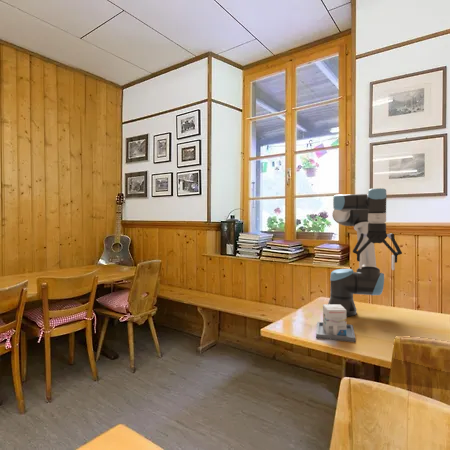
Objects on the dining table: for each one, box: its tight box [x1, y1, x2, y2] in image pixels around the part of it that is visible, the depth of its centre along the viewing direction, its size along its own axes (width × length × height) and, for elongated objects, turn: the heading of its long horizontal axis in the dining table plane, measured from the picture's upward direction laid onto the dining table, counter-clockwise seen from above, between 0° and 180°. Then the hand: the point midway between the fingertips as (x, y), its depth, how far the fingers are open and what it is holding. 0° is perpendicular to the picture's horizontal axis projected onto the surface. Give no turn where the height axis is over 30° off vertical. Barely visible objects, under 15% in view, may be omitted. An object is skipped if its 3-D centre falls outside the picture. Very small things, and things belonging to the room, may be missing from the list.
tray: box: [315, 321, 356, 343], centre depth 146 cm, size 16×16×6 cm
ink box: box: [322, 303, 347, 335], centre depth 146 cm, size 8×8×12 cm
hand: (376, 269), depth 147 cm, fingers open, 13 cm apart
